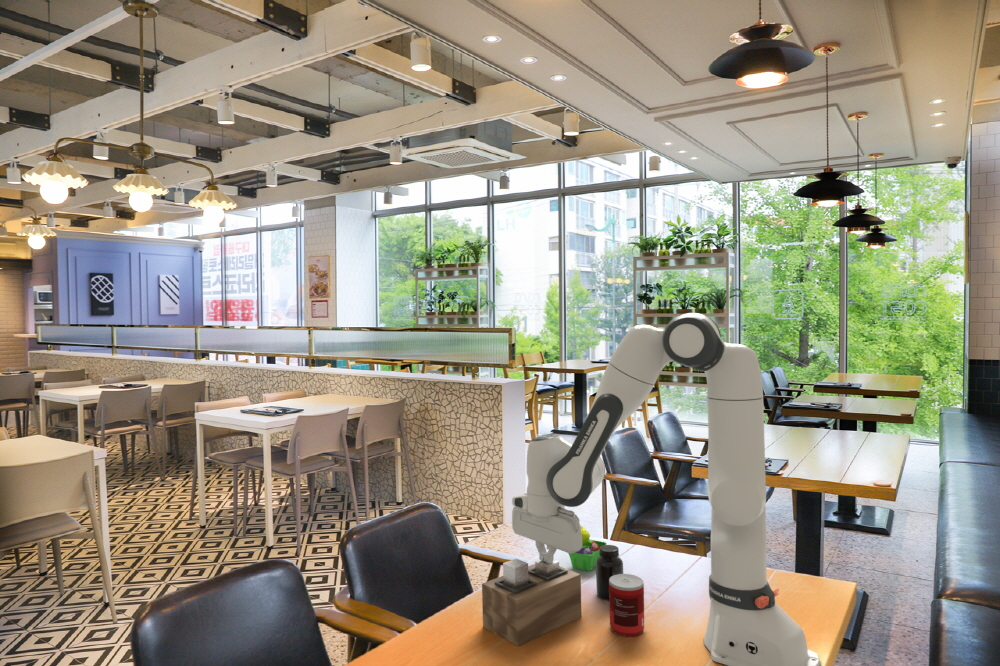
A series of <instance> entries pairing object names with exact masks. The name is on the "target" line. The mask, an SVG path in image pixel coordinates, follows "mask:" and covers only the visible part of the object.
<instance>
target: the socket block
mask: <svg viewBox="0 0 1000 666" xmlns="http://www.w3.org/2000/svg"><path fill="white" fill-rule="evenodd" d="M581 575H582V574H581V573H578V572H576V571H574V570H573V571H572V570H570V569H568V568H565V567H563V566H560V565H559V573H557V574H554V575H552V576H549V577H546V576H543V575H541V574H538V573H536V572H535V563H534V564H531V565H528V585H526V586H523V587H521V588H518V589H516V590H514V589H512V588H510V587H508V586H505V585H503V575H502V576H499V577H496V578H493V579H490V580H487V581H485V582H482V583H481V596H482V597H481V600H482V601H481V602H482V627H483V628H484V629H486V630H488V631H489V632H492V633H494V634H495V635H498V636H499V637H501V638H503V639H505V641H506V640H507V641H509V642H510V643H512V644H513V645H516V646H517V647H520V646H523V645H524V644H525V643H528V642H530V641H533V640H534V639H535V640H536V639H537V638H539V637H541V636H542V635H545V634H548V633H549V632H551V631H553V630H554V631H555V630H556V629H557V628H560V627H562V626H564V625H567V624H568V623H571V622H573V621H575V620H577V619H579V618H581V617H582V581H581V579H582V576H581Z"/></svg>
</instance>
